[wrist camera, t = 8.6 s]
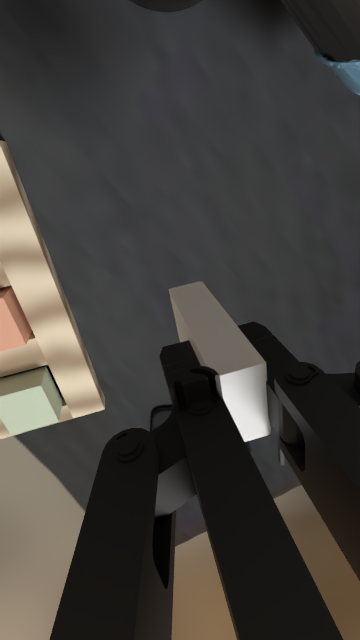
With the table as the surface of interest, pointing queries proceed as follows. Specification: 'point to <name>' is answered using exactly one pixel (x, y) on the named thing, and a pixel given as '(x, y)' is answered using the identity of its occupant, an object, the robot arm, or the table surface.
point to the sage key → (29, 401)
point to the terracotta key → (12, 321)
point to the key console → (40, 304)
